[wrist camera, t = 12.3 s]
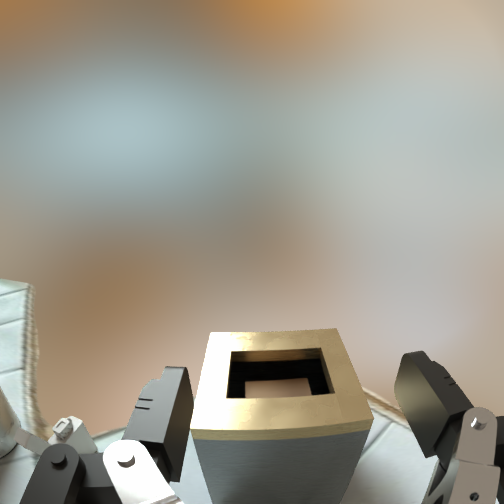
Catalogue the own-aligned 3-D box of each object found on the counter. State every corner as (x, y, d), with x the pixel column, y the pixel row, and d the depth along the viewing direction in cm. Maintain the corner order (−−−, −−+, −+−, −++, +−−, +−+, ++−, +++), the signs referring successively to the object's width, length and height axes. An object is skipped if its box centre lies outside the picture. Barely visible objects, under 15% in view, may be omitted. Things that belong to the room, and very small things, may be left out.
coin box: (215, 511, 18) (190, 428, 14) (223, 428, 27) (210, 332, 24) (338, 504, 18) (374, 418, 14) (321, 424, 27) (336, 328, 24)
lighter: (85, 442, 24) (56, 386, 21) (98, 447, 23) (68, 392, 21) (51, 486, 17) (8, 434, 14) (64, 494, 17) (21, 443, 14)
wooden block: (250, 481, 21) (245, 410, 18) (249, 456, 24) (245, 381, 21) (302, 477, 21) (314, 405, 18) (298, 452, 24) (307, 377, 21)
